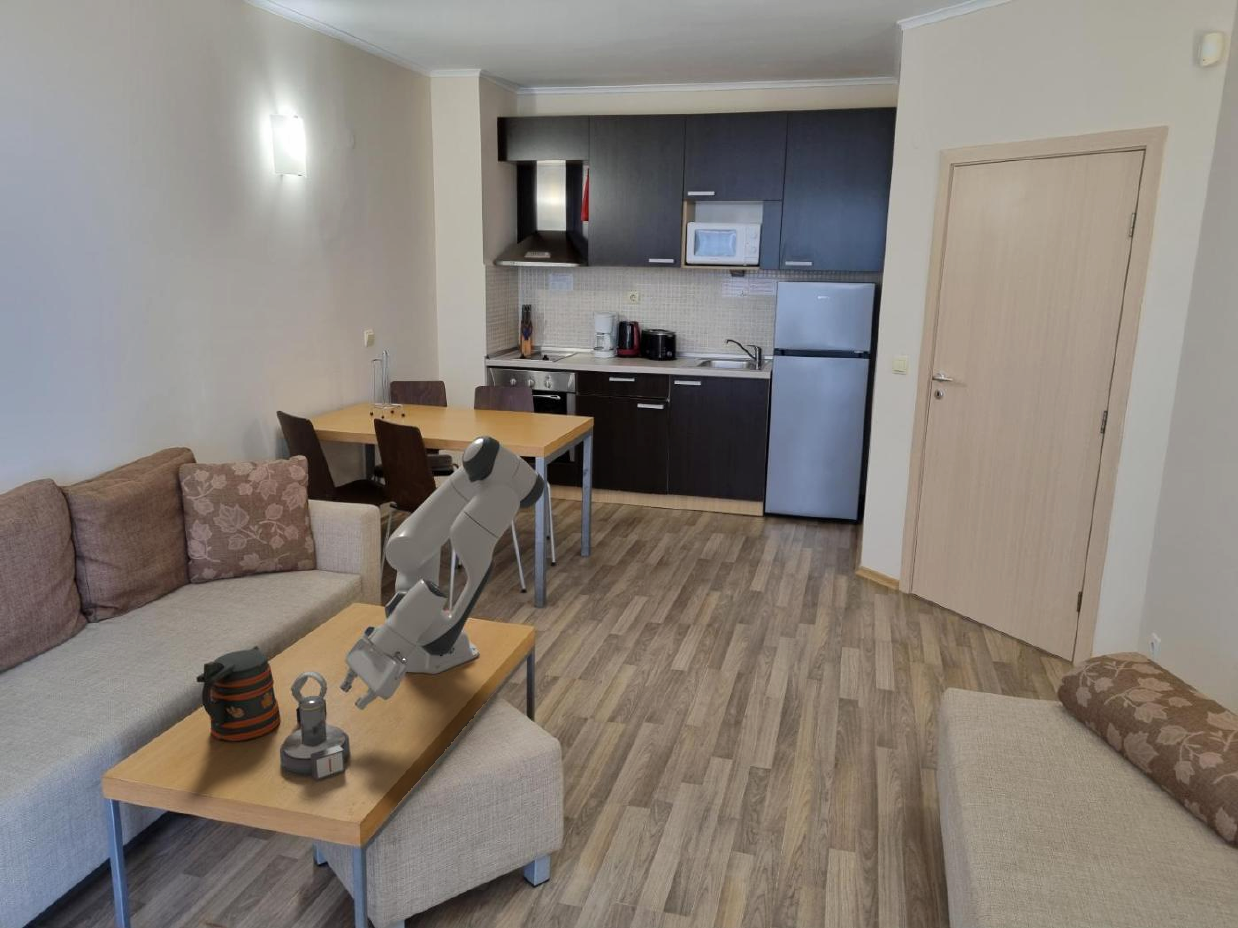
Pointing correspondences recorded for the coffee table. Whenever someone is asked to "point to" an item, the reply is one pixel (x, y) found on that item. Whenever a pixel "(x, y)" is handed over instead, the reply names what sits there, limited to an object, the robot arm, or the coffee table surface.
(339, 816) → the coffee table surface
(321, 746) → the pan
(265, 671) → the beer stein
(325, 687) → the watch
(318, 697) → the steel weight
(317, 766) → the scale
